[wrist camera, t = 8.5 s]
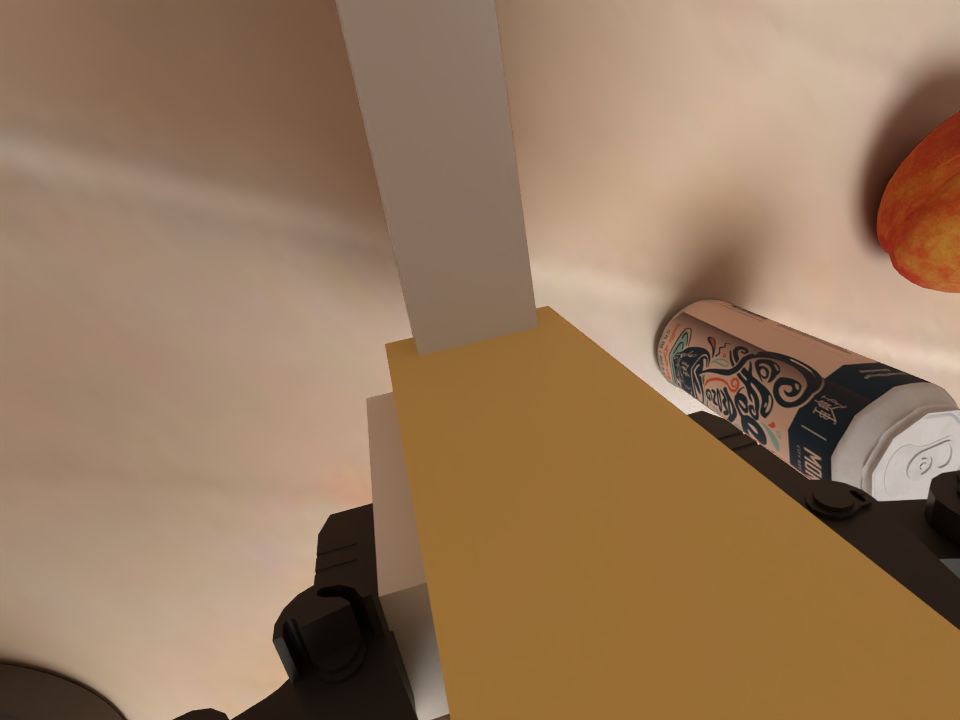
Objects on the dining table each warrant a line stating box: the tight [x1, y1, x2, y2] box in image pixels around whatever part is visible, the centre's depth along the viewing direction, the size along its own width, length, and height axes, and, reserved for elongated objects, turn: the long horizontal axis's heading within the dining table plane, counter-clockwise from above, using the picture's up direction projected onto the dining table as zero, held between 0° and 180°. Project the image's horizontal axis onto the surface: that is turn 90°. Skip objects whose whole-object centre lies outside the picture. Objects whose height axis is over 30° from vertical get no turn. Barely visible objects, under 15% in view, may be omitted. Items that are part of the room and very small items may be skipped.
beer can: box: [657, 299, 960, 501], centre depth 22 cm, size 5×5×12 cm
